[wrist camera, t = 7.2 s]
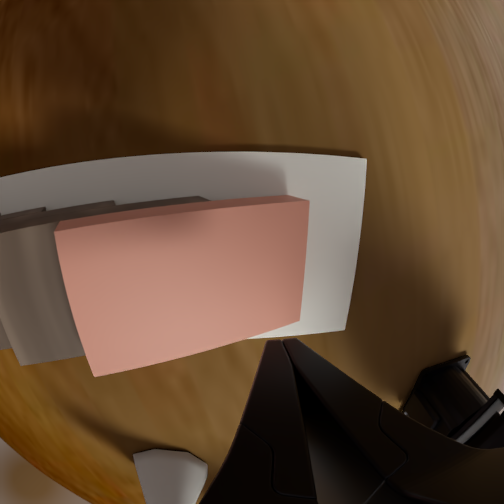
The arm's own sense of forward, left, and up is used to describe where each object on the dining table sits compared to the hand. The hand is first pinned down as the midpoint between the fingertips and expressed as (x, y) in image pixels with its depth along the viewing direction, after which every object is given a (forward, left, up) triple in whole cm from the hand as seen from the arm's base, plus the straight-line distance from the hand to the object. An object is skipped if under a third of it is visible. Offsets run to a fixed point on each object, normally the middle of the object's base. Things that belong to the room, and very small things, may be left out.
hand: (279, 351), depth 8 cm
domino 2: (-2, 0, -6) cm, 7 cm away
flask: (+7, +21, -8) cm, 23 cm away
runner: (+5, 0, -8) cm, 9 cm away
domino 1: (+2, 0, -6) cm, 7 cm away
